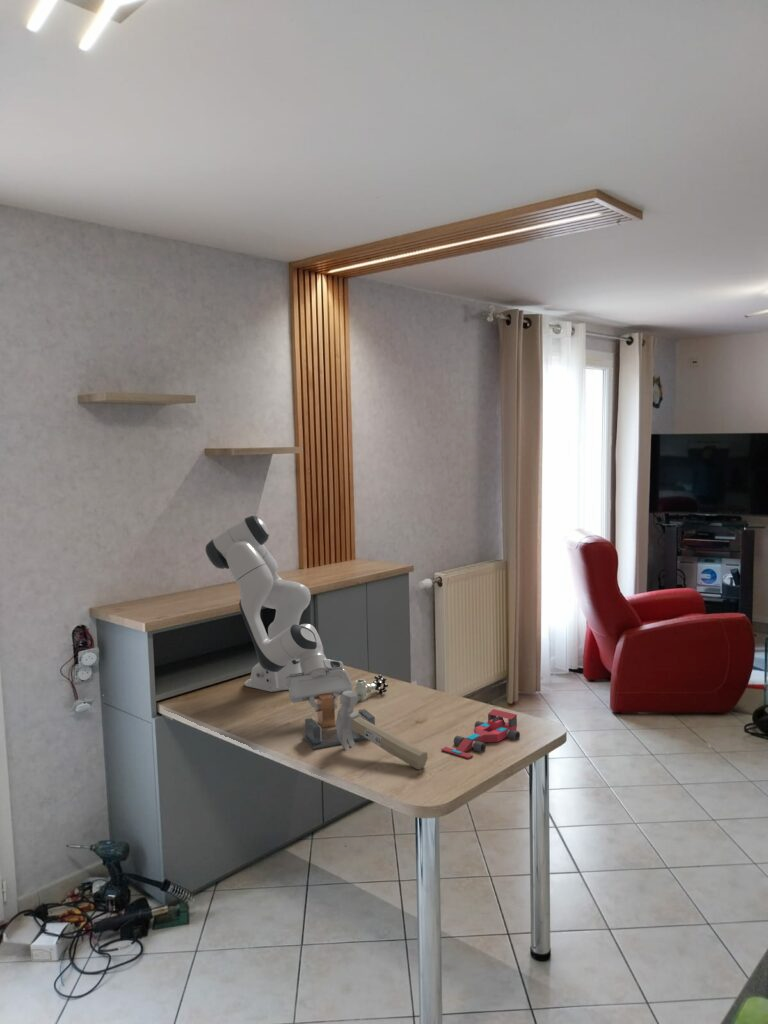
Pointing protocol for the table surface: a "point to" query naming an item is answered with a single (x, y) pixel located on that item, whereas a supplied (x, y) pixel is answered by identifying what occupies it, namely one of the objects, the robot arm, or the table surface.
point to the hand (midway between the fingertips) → (326, 709)
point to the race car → (486, 733)
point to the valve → (369, 687)
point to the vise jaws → (330, 732)
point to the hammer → (373, 733)
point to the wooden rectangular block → (326, 710)
